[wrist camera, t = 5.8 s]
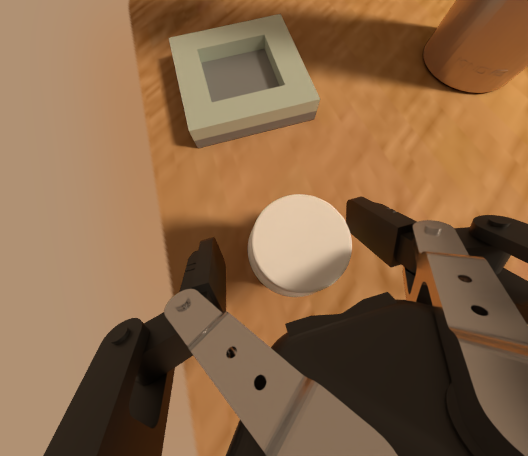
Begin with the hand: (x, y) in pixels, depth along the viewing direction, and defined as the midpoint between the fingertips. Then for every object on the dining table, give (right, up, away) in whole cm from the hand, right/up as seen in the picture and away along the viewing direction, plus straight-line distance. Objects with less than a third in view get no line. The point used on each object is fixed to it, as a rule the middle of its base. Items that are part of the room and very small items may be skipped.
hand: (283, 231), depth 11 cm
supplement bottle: (0, -2, +4) cm, 5 cm away
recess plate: (-3, +15, +9) cm, 18 cm away
